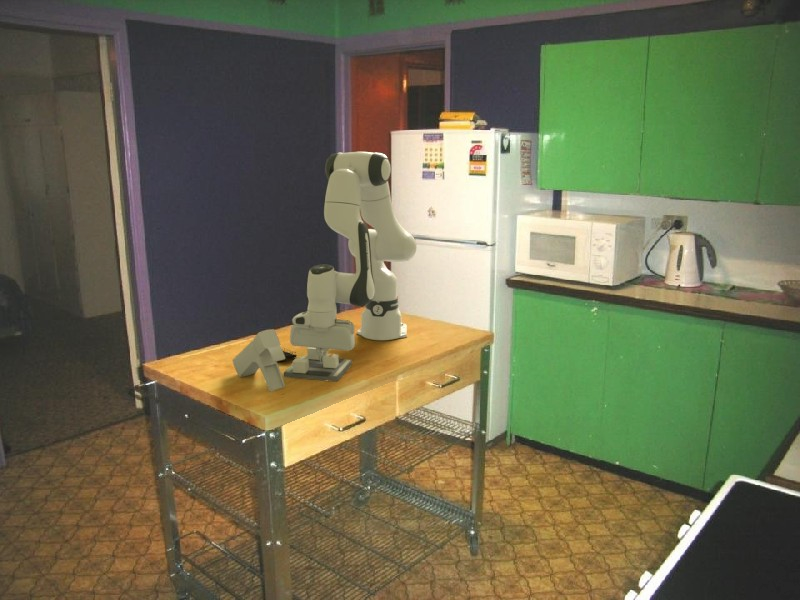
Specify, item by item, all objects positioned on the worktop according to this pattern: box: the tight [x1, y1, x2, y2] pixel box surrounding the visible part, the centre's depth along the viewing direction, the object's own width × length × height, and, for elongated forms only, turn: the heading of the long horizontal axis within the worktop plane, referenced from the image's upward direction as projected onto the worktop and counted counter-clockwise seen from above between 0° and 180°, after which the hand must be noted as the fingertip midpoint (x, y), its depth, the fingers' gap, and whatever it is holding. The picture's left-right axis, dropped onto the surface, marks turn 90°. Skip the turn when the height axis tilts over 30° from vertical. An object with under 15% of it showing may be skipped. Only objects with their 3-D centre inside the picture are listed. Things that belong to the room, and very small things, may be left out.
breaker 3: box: [323, 352, 340, 368], centre depth 206 cm, size 3×4×4 cm
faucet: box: [232, 328, 286, 392], centre depth 196 cm, size 6×16×20 cm
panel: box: [283, 355, 353, 382], centre depth 208 cm, size 17×17×2 cm
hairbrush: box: [279, 347, 298, 362], centre depth 224 cm, size 8×4×25 cm
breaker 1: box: [292, 357, 309, 373], centre depth 202 cm, size 3×4×4 cm
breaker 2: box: [306, 347, 323, 360], centre depth 214 cm, size 3×4×4 cm
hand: (322, 361), depth 207 cm, fingers closed, pressing on breaker 3
